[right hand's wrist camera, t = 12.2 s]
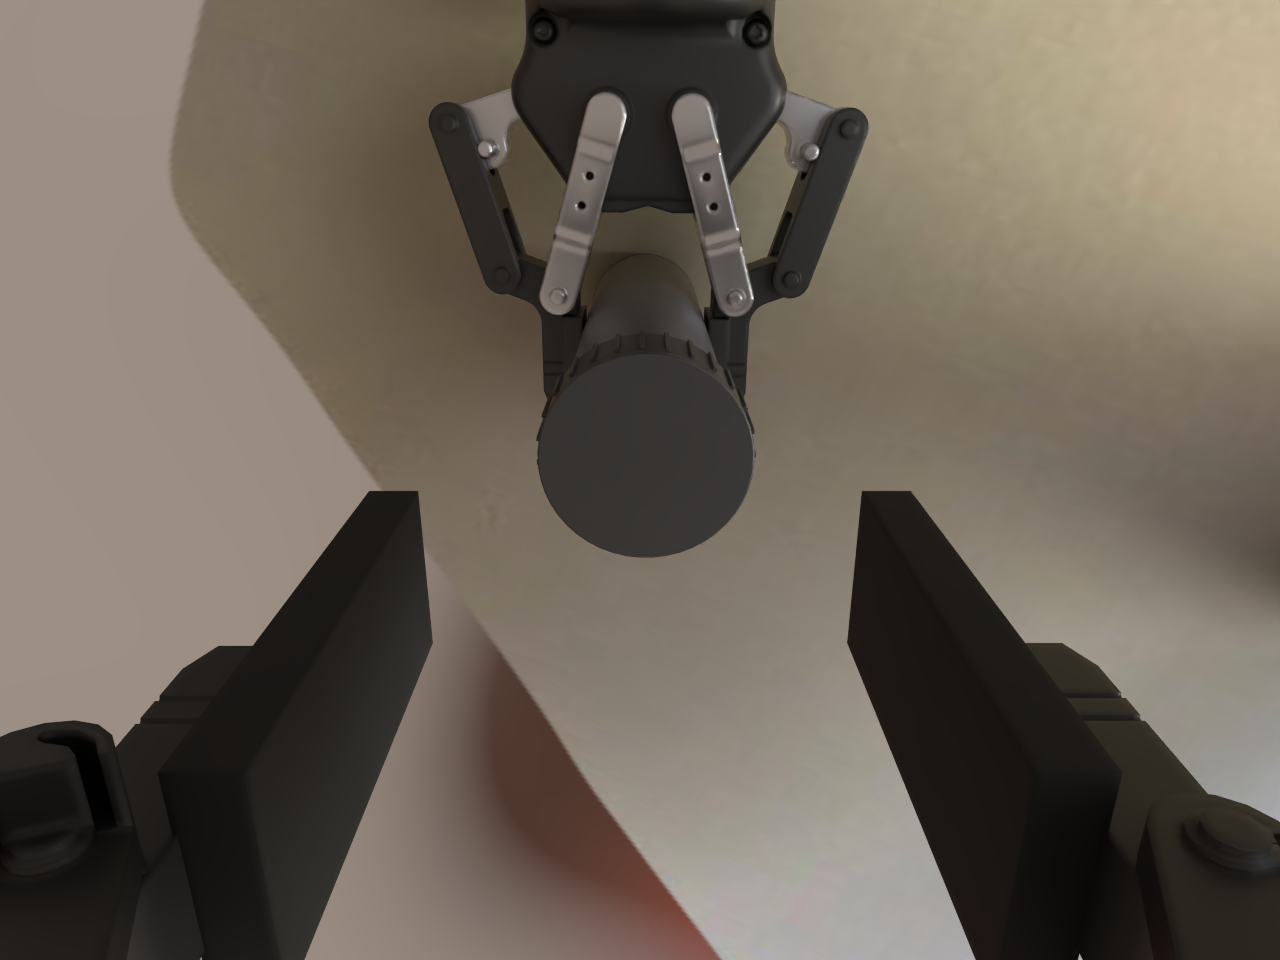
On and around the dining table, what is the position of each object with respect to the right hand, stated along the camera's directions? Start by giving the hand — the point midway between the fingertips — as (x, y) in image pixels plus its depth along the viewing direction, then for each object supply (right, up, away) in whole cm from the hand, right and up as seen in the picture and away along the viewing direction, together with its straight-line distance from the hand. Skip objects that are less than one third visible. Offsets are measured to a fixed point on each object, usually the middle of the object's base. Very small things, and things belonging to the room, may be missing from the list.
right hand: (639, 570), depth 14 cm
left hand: (0, +4, +18) cm, 18 cm away
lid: (0, +2, +5) cm, 6 cm away
